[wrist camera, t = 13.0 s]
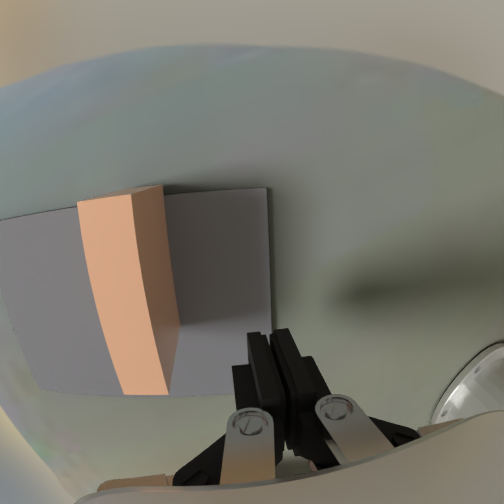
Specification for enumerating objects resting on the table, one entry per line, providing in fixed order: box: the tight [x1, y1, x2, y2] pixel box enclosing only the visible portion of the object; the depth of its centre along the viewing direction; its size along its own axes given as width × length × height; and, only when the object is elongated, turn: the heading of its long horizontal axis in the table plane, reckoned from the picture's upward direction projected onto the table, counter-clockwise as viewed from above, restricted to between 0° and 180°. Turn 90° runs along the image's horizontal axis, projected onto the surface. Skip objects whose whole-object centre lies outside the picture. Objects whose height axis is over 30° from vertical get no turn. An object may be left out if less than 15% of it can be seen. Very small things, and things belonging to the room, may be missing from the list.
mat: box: [0, 188, 272, 397], centre depth 16 cm, size 18×13×1 cm
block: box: [77, 184, 180, 395], centre depth 13 cm, size 2×8×6 cm, turn 3°
